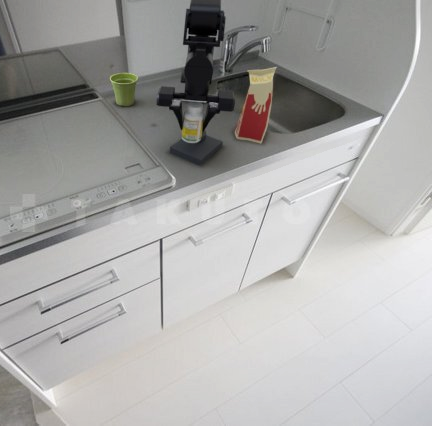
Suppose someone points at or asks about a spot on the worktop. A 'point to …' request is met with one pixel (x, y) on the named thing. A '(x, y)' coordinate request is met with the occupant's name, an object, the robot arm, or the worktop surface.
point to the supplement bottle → (193, 122)
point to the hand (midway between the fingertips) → (192, 130)
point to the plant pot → (124, 88)
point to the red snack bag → (256, 106)
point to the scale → (197, 149)
